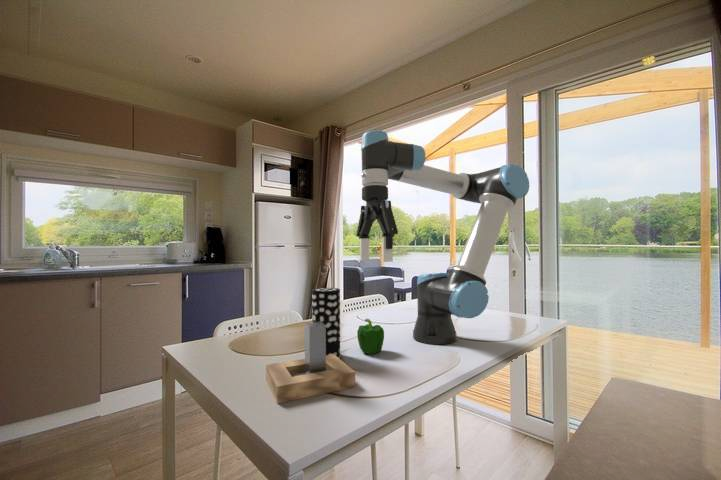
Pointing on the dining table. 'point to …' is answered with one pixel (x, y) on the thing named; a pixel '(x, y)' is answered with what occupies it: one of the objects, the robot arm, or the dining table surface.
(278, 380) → the wooden rectangular frame
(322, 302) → the white-spotted black cylinder
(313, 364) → the bracket
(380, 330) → the bell pepper
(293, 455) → the dining table surface
